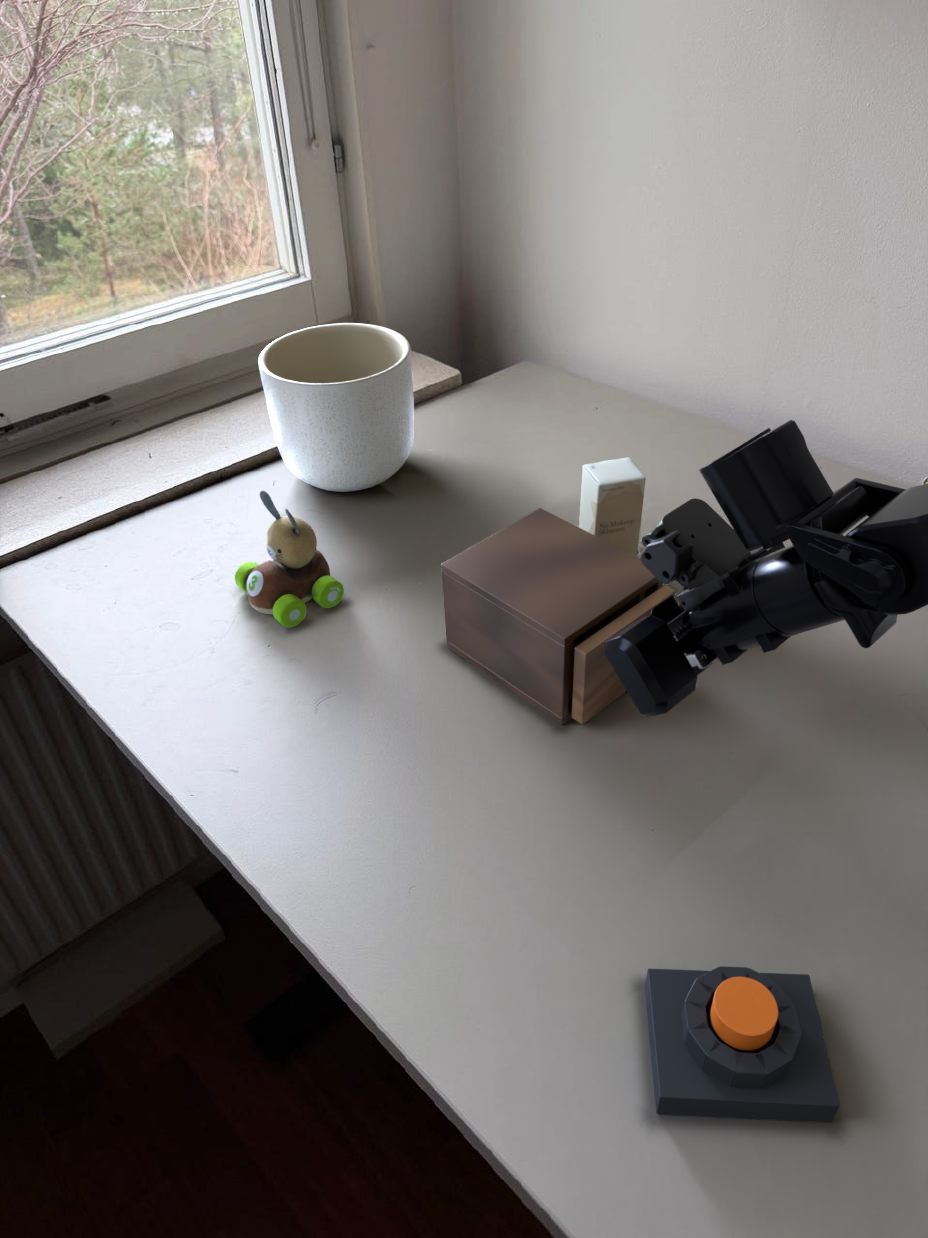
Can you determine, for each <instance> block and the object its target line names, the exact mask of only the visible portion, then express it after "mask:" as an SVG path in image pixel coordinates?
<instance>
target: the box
mask: <svg viewBox="0 0 928 1238" xmlns="http://www.w3.org/2000/svg"><path fill="white" fill-rule="evenodd" d="M637 465H638V464H636V463H635V462H634V461H633V459H632V458H631V457H628V456H627V457H621V458H615V459H606V460H602V461H597V462H591V463H586V464H585V463H584V464H583V465H582V470H581V471H582V473H581V475H582V476H581V485H580V486H581V488H580V502H579V503H580V504H579V519H578V527H579V528H581V529H583V530H585V531H587V532H589V533H591V534H593V535H595V536H597V537H599V538H601V539H603V540H605V541H607V542H609V543H611V544H613V545H615V546H616V547H618V548H620V549H622V550H624V551H626V552H628V553H630V554H632V555H634V556H636V557H638V551H639V542H640V534H641V525H642V516H643V507H644V506H643V505H644V498H645V489H646V479H647V477H646V476H645V474H644V473H643V471H642V470H641V469H640V468H639V466H637Z"/></svg>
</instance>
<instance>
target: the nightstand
mask: <svg viewBox="0 0 928 1238" xmlns="http://www.w3.org/2000/svg"><path fill="white" fill-rule="evenodd" d="M440 569H441V570H440V571H441V584H442V587H441V588H442V598H443V600H442V601H443V613H444V614H443V615H444V628H445V640H446V642H445V643H446V647H447V648H448V649H449V650H451V651H452V652H453V653H455V654H457V655H458V656H459V657H461V658H462V659H463V660H465V661H467V662H468V663H470V664H471V665H472V666H474V667H476V668H477V669H479V670H480V671H482V672H483V673H484V674H486V675H487V676H489V677H490V678H492V679H493V680H494V681H496V682H497V683H499V684H501V686H504V687H505V688H506V689H508V690H509V691H511V692H512V693H514V694H515V695H517V696H518V697H520V698H521V699H522V700H524V701H526V702H527V704H530V705H531V706H533V707H534V708H535V709H537V710H539V711H540V712H542V713H543V714H545V715H546V716H548V717H549V718H550V719H552V720H553V721H555V722H556V723H558V724H559V725H561V726H563V725H565V724H566V723H567V722H568V721H569V720H571V719H573V718H572V699H573V698H571V699H570V700H569V678H570V653H571V642H572V641H573V640H575V639H576V638H578V637H579V636H580V635H582V634H583V633H585V632H586V631H588V630H589V629H591V628H592V627H594V626H595V625H596V624H598V623H599V622H601V621H602V620H604V619H605V618H607V617H608V616H609V615H611V614H612V613H614V612H615V611H617V610H618V609H620V608H621V607H623V606H624V605H625V604H627V603H628V602H630V601H631V600H633V599H634V598H636V597H637V596H638V595H640V594H641V593H643V592H644V591H646V594H645V598H647V597H648V596H649V595H651V594H652V593H654V592H655V591H657V590H658V589H659V588H661V587H662V586H664V584H663V583H661V582H660V581H659V580H658V579H657V578H656V577H655V576H654V575H653V574H652V573H651V572H650V571H649V570H648V569H647V568H646V567H645V566H644V565H643V564H642V561H641V557H638V556H637V557H636V556H634V555H632V554H630V553H628V552H626V551H624V550H622V549H620V548H618V547H616V546H615V545H613V544H611V543H609V542H607V541H605V540H603V539H601V538H599V537H597V536H595V535H593V534H591V533H589V532H587V531H585V530H583V529H581V528H579V526H577V525H575V524H573V523H571V522H569V521H567V520H565V519H563V518H561V517H559V516H557V515H555V514H553V513H552V512H550V511H547V510H545V509H543V508H542V507H539V508H536V509H535V510H533V511H532V512H529V514H527V515H524V516H523V517H521V518H519V519H517V520H516V521H514V522H512V523H511V524H509V525H507V526H505V527H503V528H501V529H500V530H498V531H497V532H495V533H493V534H491V535H489V536H488V537H486V538H484V539H483V540H481V541H479V542H477V543H475V544H474V545H472V546H470V547H468V548H466V549H465V550H463V551H461V552H459V553H458V554H456V555H455V556H452V557H450V558H449V559H447V560H446V561H444V562H442V563H441V564H440Z"/></svg>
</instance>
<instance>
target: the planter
mask: <svg viewBox="0 0 928 1238" xmlns="http://www.w3.org/2000/svg"><path fill="white" fill-rule="evenodd" d="M257 363H258V370H259V374H260V375H259V376H260V380H261V384H262V389H263V394H264V398H265V403H266V406H267V412H268V416H269V420H270V424H271V428H272V433H273V436H274V437H273V438H274V440H275V443H276V446H277V448H278V452H279V455H280V456H281V459H282V460H283V463H284V465H285V466H286V468H288V470H289V471H290V472H291V473H292V474H293V475H294V476H295V477H297V478H298V479H300V480H301V481H303V482H304V483H306V484H309V485H310V486H311V487H312V486H313V487H314V488H318V489H321V490H325V491H330V492H338V493H339V492H340V493H347V492H349V493H350V492H356V491H357V492H358V491H362V490H366V489H369V488H373V487H375V486H377V485H379V484H381V483H383V482H385V481H387V480H388V479H390V478H391V477H392V476H393V475H394V474H396V473H398V471H399V470H400V469H401V468H402V467H403V466H404V464H405V463H406V462H407V459H408V458H409V456H410V454H411V452H412V449H413V443H414V436H415V435H414V434H415V402H414V401H415V397H414V378H413V360H412V348H411V344H410V342H409V341H408V339H407V338H406V337H405V336H404V335H403V334H402V333H400V332H398V331H396V330H394V329H391V328H388V327H385V326H381V325H376V324H369V323H359V322H357V323H356V322H342V323H341V322H340V323H328V324H321V325H316V326H310V327H306V328H302V329H299V330H295V331H292V332H289V333H287V334H284V335H283V336H280V337H279V338H276V339H274V340H273V341H272V342H271V343H270V342H269V344H268V345H266V346H265V347H264V349H263V350H262V351H261V352H260V354H259V356H258V360H257Z"/></svg>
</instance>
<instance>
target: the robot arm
mask: <svg viewBox="0 0 928 1238" xmlns="http://www.w3.org/2000/svg"><path fill="white" fill-rule="evenodd" d="M698 471H699V474H701V476H702V478H703V480H704V481H705V483H706V485H707V486H708V488H709V489H710V492H711V493H712V495H713V496H714V498H715V501H716V502H717V503H718V505H719V507H720V508H721V510H722V512H723V513H724V515H725V517H726V519H727V520H728V522H729V523H728V522H727V521H726V520H725V519H724V518H723V517H722V516H721V515H719V513H718V512H717V511H716V510H714V508H712V507H711V506H710V505H709V504H708V503H707V501H704V500H703V499H700V498H697V497H696V498H691V499H689V500H687V501H685V502H684V503H682V504H681V505H679V506H677V507H676V508H675V509H673V510H671V511H670V512H667V514H665V515H664V516H663V517H662V518H661V519H660V522H659V523H658V524H657V526H656V527H655V528H654V529H653V530H651V531H650V532H648V533H647V534H645V535H643V536H642V538H641V543H642V545H643V547H644V549H643V550H642V551H641V553H640V559H641V561H642V564H643V565H644V566H645V567H646V568H647V569H648V570H649V571H650V572H651V573H652V574H653V575H654V576H655V577H656V578H657V579H658V580H659V581H660V582H661V583H663V585H670V584H671V583H673V582H674V581H675V582H676V583H677V584H679V585H680V586H682V587H683V590H682V591H681V592H680V593H679V594H676V595H675V598H674V596H673V595H671V596H670V597H668V598H667V599H665V600H664V601H663V602H661V603H660V604H658V605H657V606H656V607H654V608H653V609H652V611H651V613H650V615H648V616H646V617H643V618H641V619H639V620H637V621H636V622H634V623H632V624H630V625H628V626H627V627H626V628H624V629H623V630H621V631H620V632H619V633H617V634H616V635H614V636H613V637H612V638H610V639H609V640H607V641H606V642H605V646H604V654H605V656H606V657H607V659H608V661H609V662H610V664H611V666H612V667H613V669H614V671H615V672H616V674H617V676H618V677H619V679H620V681H621V682H622V684H623V686H624V688H625V689H626V691H625V692H626V693H627V694H628V696H629V698H630V699H631V702H632V703H633V705H634V706H635V708H636V710H637V711H638V713H639V715H640V716H644V717H647V718H653V717H657V716H661V715H665V714H667V713H669V712H670V711H671V710H672V709H673V708H675V707H676V706H677V705H678V704H680V703H681V702H682V701H683V700H685V699H686V698H687V697H688V696H690V695H691V694H692V693H693V692H695V690H696V689H697V682H698V676H699V675H700V674H702V673H703V672H704V671H705V670H707V669H708V668H709V667H710V666H711V665H713V664H714V662H715V661H717V659H718V660H719V662H720V663H721V665H722V666H725V665H728V664H732V663H734V662H735V661H736V660H737V659H738V658H740V657H741V656H742V655H743V654H744V653H746V652H747V651H748V650H750V649H753V648H758V647H760V649H761V650H762V652H763V653H764V654H765V653H769V652H772V651H775V650H776V649H778V648H779V647H780V646H781V645H783V644H784V643H785V642H786V641H787V640H789V639H790V638H791V637H793V636H797V635H799V634H802V633H806V632H810V631H812V630H815V629H819V628H822V627H826V626H828V625H832V624H836V623H838V622H842V621H845V622H846V624H847V626H848V627H849V629H850V631H851V632H852V634H853V636H854V638H855V639H856V641H857V644H859V646H860V647H861V648H863V649H869V648H871V647H872V646H873V645H874V644H875V643H876V642H877V641H878V640H879V639H881V638H882V637H883V636H884V635H885V634H886V633H888V632H889V630H891V628H892V627H894V626H895V625H896V624H897V622H898V620H897V619H898V615H907V614H911V613H913V612H916V611H918V610H920V609H922V608H925V607H926V606H928V483H927V484H920V485H915V486H911V487H909V488H902V487H898V486H894V485H889V484H886V483H885V484H884V483H882V482H881V483H880V482H877V481H873V480H867V479H864V478H859V477H854V478H853V479H851V480H850V481H848V482H847V483H845V485H843V486H841V487H840V488H837V489H835V490H832V487H831V486H830V485H829V483H828V481H827V479H826V478H825V475H824V474H823V472H822V470H821V469H820V467H819V465H818V464H817V462H816V460H815V459H814V457H813V455H812V454H811V452H810V450H809V448H808V445H807V442H806V439H805V436H804V434H803V433H802V431H801V429H800V427H799V426H798V423H797V422H796V421H795V420H793V419H790V420H787V421H786V422H784V423H782V424H780V425H777V426H776V427H774V428H772V429H771V428H770V427H768V428H766V429H764V430H762V431H761V432H759V433H757V434H755V435H754V436H752V437H751V438H749V439H747V440H745V441H744V442H742V443H740V444H739V445H737V446H735V447H734V448H732V449H730V450H728V451H727V452H725V453H723V454H722V455H720V456H718V457H717V458H715V459H713V460H712V461H710V462H708V463H707V464H705V465H704V466H702V467H700V468H699V469H698ZM864 518H865V519H864ZM863 519H864V520H863ZM862 520H863V521H862ZM859 522H860V523H859ZM858 523H859V524H858ZM857 524H858V525H857ZM856 525H857V526H856ZM853 527H854V528H853ZM844 534H845V535H844ZM787 541H790V543H791V544H790V545H787V546H786V545H785V543H784V542H787ZM676 598H677V599H676ZM678 602H679V603H678Z"/></svg>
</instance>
